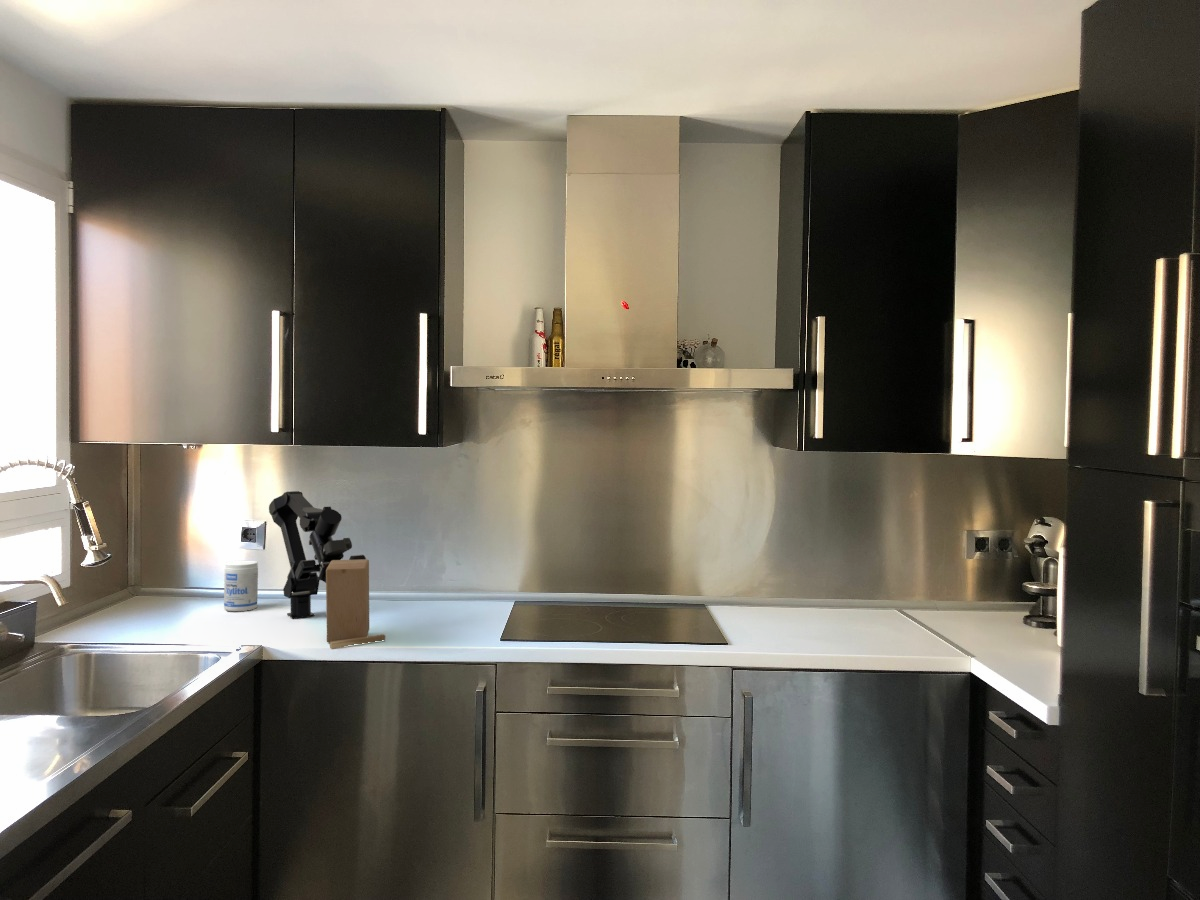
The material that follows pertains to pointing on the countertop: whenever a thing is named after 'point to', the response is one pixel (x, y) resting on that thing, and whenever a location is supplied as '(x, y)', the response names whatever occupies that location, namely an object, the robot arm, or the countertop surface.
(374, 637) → the oak batten
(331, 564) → the wooden block
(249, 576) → the supplement tub
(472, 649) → the countertop surface
